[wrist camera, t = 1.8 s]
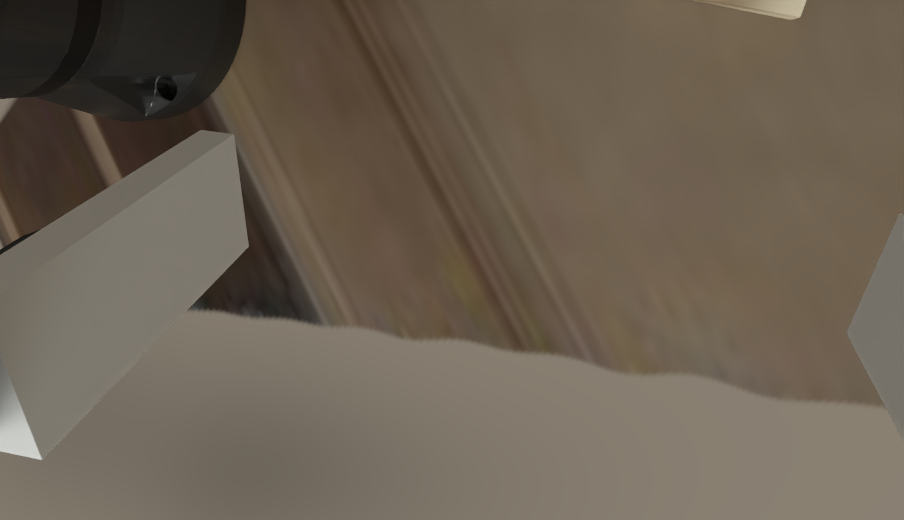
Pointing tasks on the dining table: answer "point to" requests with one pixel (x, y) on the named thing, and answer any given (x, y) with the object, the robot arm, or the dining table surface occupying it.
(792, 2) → the beige rectangular blocks
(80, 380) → the robot arm
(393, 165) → the dining table surface
